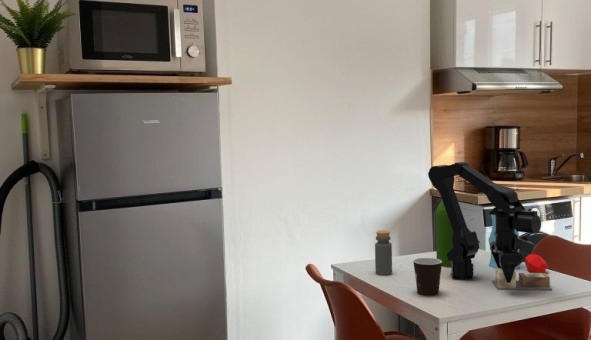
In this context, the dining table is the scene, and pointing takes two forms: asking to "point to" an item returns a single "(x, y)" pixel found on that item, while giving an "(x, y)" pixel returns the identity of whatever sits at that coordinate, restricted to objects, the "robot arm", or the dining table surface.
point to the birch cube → (502, 281)
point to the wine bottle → (443, 235)
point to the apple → (535, 264)
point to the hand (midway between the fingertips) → (505, 278)
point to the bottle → (383, 254)
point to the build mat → (521, 287)
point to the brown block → (534, 279)
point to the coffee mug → (427, 275)
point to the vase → (493, 238)
